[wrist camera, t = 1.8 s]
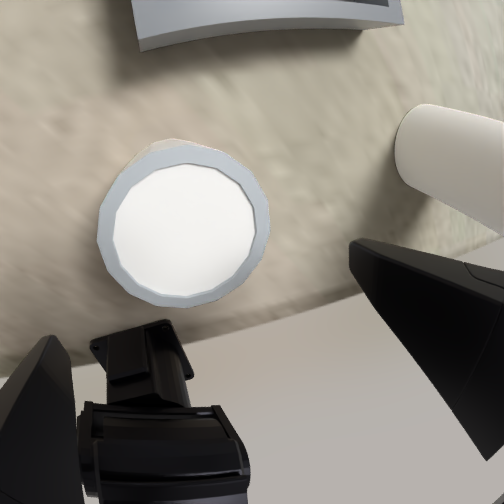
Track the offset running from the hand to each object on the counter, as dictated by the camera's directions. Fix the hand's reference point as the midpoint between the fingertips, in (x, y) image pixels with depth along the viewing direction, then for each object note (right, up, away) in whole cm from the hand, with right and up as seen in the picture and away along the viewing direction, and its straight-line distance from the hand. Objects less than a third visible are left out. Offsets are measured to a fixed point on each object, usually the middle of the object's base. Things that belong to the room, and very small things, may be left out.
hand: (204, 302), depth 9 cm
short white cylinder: (-3, +5, +9) cm, 11 cm away
